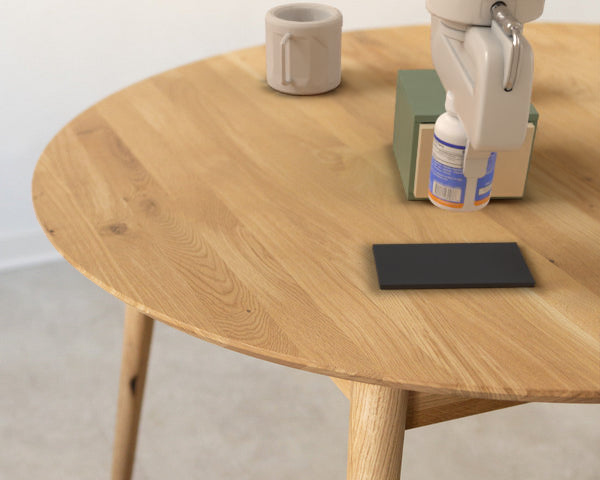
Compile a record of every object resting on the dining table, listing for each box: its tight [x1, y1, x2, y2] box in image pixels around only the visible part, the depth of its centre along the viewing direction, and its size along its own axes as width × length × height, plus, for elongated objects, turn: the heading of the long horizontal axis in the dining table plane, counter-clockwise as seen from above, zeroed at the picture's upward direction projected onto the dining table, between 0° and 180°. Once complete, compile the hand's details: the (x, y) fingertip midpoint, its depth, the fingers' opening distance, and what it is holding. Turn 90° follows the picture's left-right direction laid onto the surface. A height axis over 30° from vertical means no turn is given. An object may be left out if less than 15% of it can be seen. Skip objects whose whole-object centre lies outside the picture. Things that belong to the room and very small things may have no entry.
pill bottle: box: [429, 90, 497, 213], centre depth 66 cm, size 5×5×10 cm
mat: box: [371, 241, 536, 290], centre depth 73 cm, size 14×7×1 cm, turn 91°
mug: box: [264, 2, 344, 96], centre depth 109 cm, size 14×11×10 cm
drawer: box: [414, 122, 535, 198], centre depth 85 cm, size 14×11×8 cm
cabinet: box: [391, 68, 540, 201], centre depth 87 cm, size 14×13×10 cm
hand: (464, 156), depth 67 cm, fingers closed on pill bottle, 5 cm apart
